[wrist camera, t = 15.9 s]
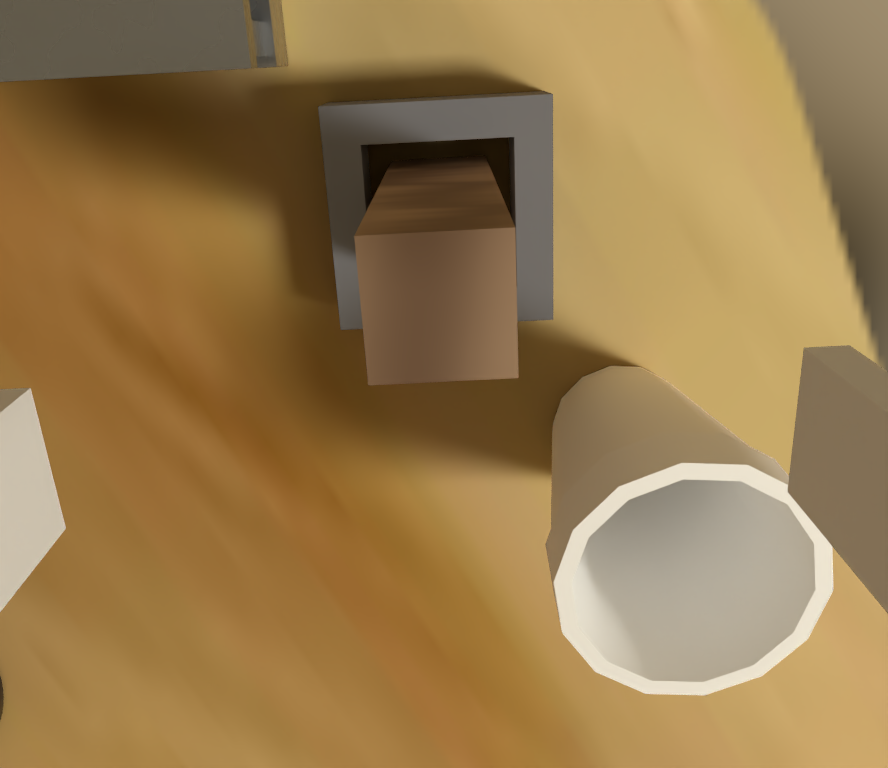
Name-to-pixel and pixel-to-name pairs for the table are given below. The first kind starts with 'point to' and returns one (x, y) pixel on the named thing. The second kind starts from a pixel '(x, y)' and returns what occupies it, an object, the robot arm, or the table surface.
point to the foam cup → (675, 541)
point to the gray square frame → (442, 120)
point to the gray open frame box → (137, 37)
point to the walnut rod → (438, 275)
